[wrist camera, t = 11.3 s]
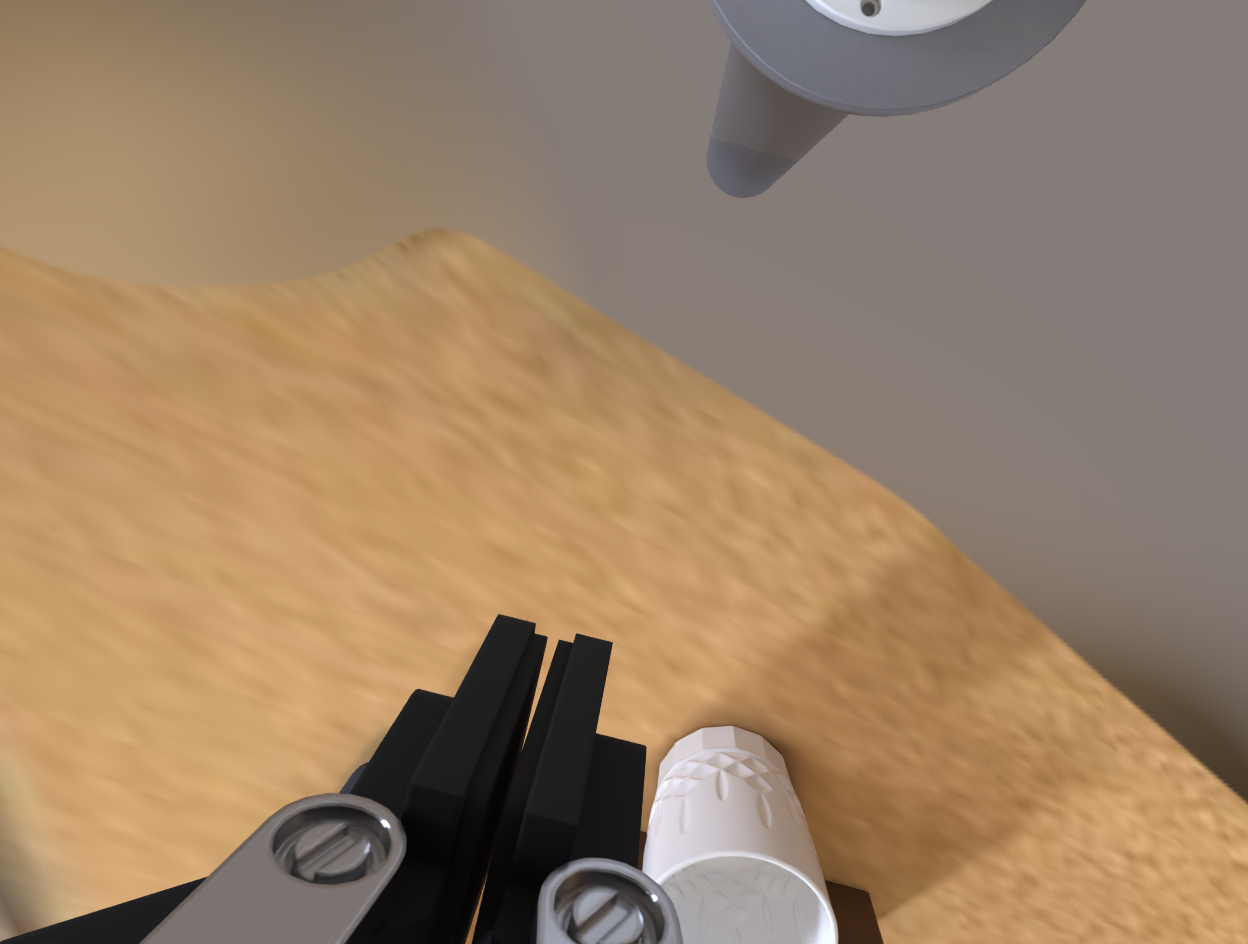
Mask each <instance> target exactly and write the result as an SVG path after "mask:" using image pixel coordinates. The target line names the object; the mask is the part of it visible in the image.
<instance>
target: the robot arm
mask: <svg viewBox="0 0 1248 944" xmlns="http://www.w3.org/2000/svg"><path fill="white" fill-rule="evenodd" d="M805 1H807V2H808V3H809V4H810V5H811V6H812V7H813V8H814V9H815V10H816V11H818V12H820V13H821V14H823V15H825V16H827V17H828V18H830V19H832V20H833V21H835V22H837V23H839V24H840V25H843V26H846V27H849V28H852V29H855V30H858V31H861V32H864V33H868V34H877V35H887V36H904V35H914V34H924V33H927V32H931V31H934V30H937V29H940V28H944V27H947V26H950V25H953V24H955V23H957V22H959V21H961V20H963V19H964V18H966V17H968V16H970V15H972V14H974V13H976V12H978V11H980V10H981V9H982V8H984V7H985V6H986V5H987V4H989V3H990V2H991V1H993V0H805ZM864 6H870V7H871V8H872V10H873V14H872V15H871V16H866V15H864V14H863V12H862V7H864ZM535 627H536V623H533V622H529V621H525V620H521V619H517V618H513V617H508V616H504V615H500V614H498V616H497V618H496V619H495V621H494V623H493V625H492V627H491V629H490V631H489V633H488V634H487V636H486V638H485V640H484V642H483V644H482V646H481V648H480V650H479V651H478V653H477V655H476V657H475V659H474V661H473V663H472V665H471V667H470V668H469V670H468V672H467V674H466V676H465V678H464V680H463V682H462V683H461V685H460V687H459V689H458V691H457V693H456V695H455V697H454V698H453V697H449V696H445V695H441V694H437V693H433V692H429V691H425V690H421V689H416V690H415V691H414V692H413V694H412V695H411V696H410V698H409V699H408V701H407V703H406V704H405V706H404V707H403V709H402V711H401V712H400V714H399V715H398V717H397V718H396V720H395V722H394V723H393V725H392V726H391V728H390V729H389V731H388V733H387V734H386V736H385V737H384V739H383V741H382V742H381V744H380V745H379V747H378V748H377V750H376V752H375V753H374V755H373V756H372V758H371V760H370V761H369V763H368V764H367V766H366V767H365V769H364V771H363V772H362V774H361V775H360V777H359V778H358V780H357V782H356V783H355V785H354V786H353V788H352V790H351V791H350V793H349V794H334V793H327V794H321V795H315V796H309V797H305V798H303V799H300V800H298V801H295V802H293V803H290V804H288V805H286V806H284V807H283V808H281V809H280V810H279V811H277V812H276V813H274V814H273V815H272V816H270V817H269V818H268V819H267V820H266V821H265V822H264V823H263V824H262V825H261V826H260V827H259V828H258V829H257V830H256V831H255V832H254V833H253V834H252V835H251V836H250V837H249V838H248V839H246V840H245V841H244V842H243V843H242V844H241V845H240V846H239V847H238V848H237V849H236V850H235V851H234V852H233V853H232V854H231V855H230V856H229V857H228V858H227V859H226V860H225V861H224V862H223V863H222V864H221V865H220V866H219V867H218V868H217V869H216V870H215V871H213V872H212V873H211V874H210V875H209V876H208V877H205V878H202V879H198V880H195V881H192V882H189V883H186V884H182V885H179V886H176V887H173V888H170V889H166V890H163V891H160V892H157V893H154V894H150V895H147V896H144V897H141V898H137V899H134V900H131V901H128V902H125V903H121V904H118V905H115V906H112V907H109V908H105V909H102V910H99V911H96V912H93V913H89V914H86V915H83V916H80V917H76V918H73V919H70V920H67V921H64V922H60V923H57V924H54V925H51V926H48V927H44V928H41V929H38V930H35V931H32V932H28V933H25V934H22V935H19V936H16V937H12V938H9V939H6V940H3V941H1V942H0V944H465V942H466V939H467V936H468V933H469V930H470V927H471V924H472V921H473V917H474V914H475V911H476V908H477V905H478V902H479V899H480V896H481V893H482V890H483V886H484V883H485V880H486V884H485V888H484V892H483V897H482V901H481V905H480V910H479V914H478V919H477V923H476V927H475V932H474V936H473V940H472V944H683V939H682V934H681V928H680V922H679V918H678V915H677V913H676V910H675V907H674V904H673V902H672V901H671V899H670V898H669V896H668V895H667V894H666V892H665V891H664V890H663V888H662V887H661V886H660V885H659V884H658V883H656V882H655V881H654V880H653V879H652V878H650V877H649V876H648V875H647V874H645V873H644V872H642V871H640V870H638V869H637V867H638V854H639V841H640V828H641V815H642V802H643V789H644V777H645V764H646V746H645V745H641V744H637V743H633V742H629V741H625V740H621V739H617V738H613V737H609V736H605V735H601V734H597V733H596V729H597V724H598V718H599V713H600V708H601V702H602V697H603V692H604V687H605V681H606V676H607V671H608V665H609V660H610V655H611V649H612V644H613V642H609V641H605V640H601V639H597V638H593V637H589V636H585V635H581V634H577V633H576V636H575V639H574V643H571V642H567V641H563V640H559V641H558V644H557V647H556V650H555V653H554V656H553V659H552V662H551V665H550V668H549V671H548V674H547V677H546V680H545V683H544V686H543V689H542V692H541V695H540V698H539V701H538V704H537V707H536V710H535V713H534V716H533V719H532V722H531V725H530V728H529V731H528V734H527V737H526V740H525V743H524V739H525V734H526V730H527V726H528V721H529V717H530V713H531V709H532V704H533V700H534V696H535V691H536V687H537V683H538V678H539V674H540V670H541V665H542V661H543V657H544V652H545V648H546V643H547V636H543V635H539V634H535ZM523 743H524V746H523ZM522 747H523V749H522ZM487 874H488V875H487ZM486 877H487V879H486Z"/></svg>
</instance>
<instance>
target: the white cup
mask: <svg viewBox="0 0 1248 944" xmlns="http://www.w3.org/2000/svg"><path fill="white" fill-rule="evenodd" d="M642 872H644V873H645V874H647V875H648V876H649V877H650V878H652V879H653V880H654V881H655V882H656V883H658V884H659V885H660V886H661V887H662V888H663V890H664V891H665V892H666V894H667V895H668V896H669V898H670V899H671V901H672V902H673V904H674V907H675V910H676V913H677V915H678V918H679V922H680V928H681V934H682V939H683V944H838V927H837V922H836V918H835V914H834V911H833V908H832V904H831V901H830V898H829V894H828V891H827V887H826V884H825V881H824V877H823V874H822V870H821V867H820V864H819V860H818V857H817V853H816V849H815V846H814V842H813V840H812V837H811V834H810V832H809V828H808V825H807V821H806V818H805V816H804V813H803V810H802V806H801V803H800V800H799V798H798V797H797V796H796V794H795V792H794V788H793V785H792V782H791V779H790V776H789V773H788V770H787V767H786V764H785V762H784V759H783V756H782V755H781V754H780V753H779V752H778V751H777V750H776V749H775V748H774V747H773V746H772V745H771V744H769V743H768V742H767V741H766V740H765V739H764V738H763V737H762V736H761V735H758V734H755V733H752V732H749V731H746V730H743V729H741V728H738V727H735V726H721V727H707V728H701V729H699V730H697V731H695V732H693V733H692V734H690V735H688V736H686V737H684V738H682V739H680V740H678V741H677V742H676V743H675V744H674V746H673V747H672V748H671V750H670V751H669V752H668V754H667V755H666V756H665V758H664V759H663V761H662V762H661V763H660V767H659V775H658V782H657V790H656V796H655V801H654V803H653V805H652V807H651V813H650V820H649V825H648V831H647V839H646V844H645V849H644V858H643V868H642Z"/></svg>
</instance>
